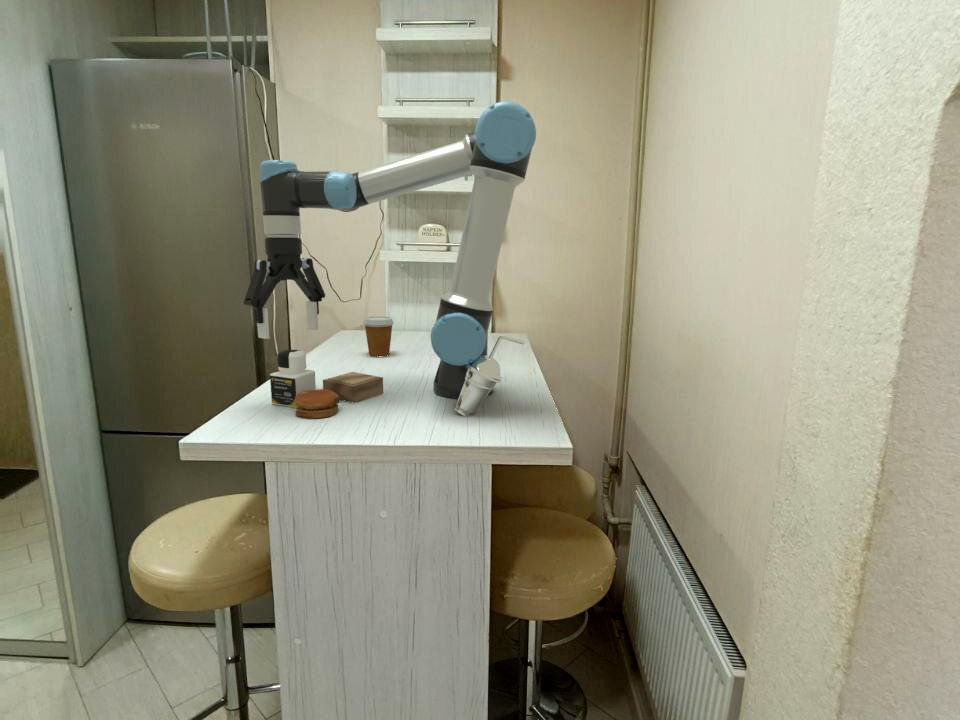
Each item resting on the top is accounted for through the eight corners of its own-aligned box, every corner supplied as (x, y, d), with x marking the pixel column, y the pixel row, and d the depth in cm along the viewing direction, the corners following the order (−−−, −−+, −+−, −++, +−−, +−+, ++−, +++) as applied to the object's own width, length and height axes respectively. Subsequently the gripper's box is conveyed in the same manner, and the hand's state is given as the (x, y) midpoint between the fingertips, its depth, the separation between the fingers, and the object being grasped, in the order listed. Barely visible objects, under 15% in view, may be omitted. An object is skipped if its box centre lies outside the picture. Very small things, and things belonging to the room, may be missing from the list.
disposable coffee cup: (388, 359, 174) (387, 321, 171) (359, 357, 175) (358, 319, 173) (398, 353, 183) (397, 316, 180) (371, 351, 184) (370, 315, 182)
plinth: (383, 393, 136) (383, 376, 135) (354, 403, 128) (354, 385, 127) (353, 387, 141) (352, 370, 140) (323, 396, 133) (322, 379, 132)
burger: (332, 420, 116) (331, 398, 115) (288, 419, 117) (287, 397, 116) (345, 406, 126) (344, 386, 125) (304, 405, 126) (303, 385, 125)
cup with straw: (459, 404, 128) (497, 326, 125) (489, 423, 124) (529, 343, 121) (439, 403, 120) (479, 320, 118) (471, 424, 116) (513, 338, 114)
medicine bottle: (271, 404, 126) (267, 352, 124) (292, 396, 133) (289, 346, 130) (296, 408, 124) (293, 355, 121) (317, 400, 130) (314, 349, 127)
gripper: (315, 236, 132) (319, 324, 137) (219, 236, 112) (229, 340, 116) (337, 236, 129) (342, 327, 133) (243, 236, 108) (252, 344, 112)
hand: (289, 333), depth 125 cm, fingers open, 13 cm apart
